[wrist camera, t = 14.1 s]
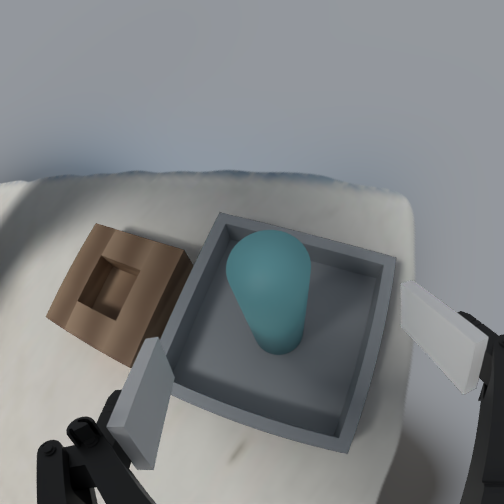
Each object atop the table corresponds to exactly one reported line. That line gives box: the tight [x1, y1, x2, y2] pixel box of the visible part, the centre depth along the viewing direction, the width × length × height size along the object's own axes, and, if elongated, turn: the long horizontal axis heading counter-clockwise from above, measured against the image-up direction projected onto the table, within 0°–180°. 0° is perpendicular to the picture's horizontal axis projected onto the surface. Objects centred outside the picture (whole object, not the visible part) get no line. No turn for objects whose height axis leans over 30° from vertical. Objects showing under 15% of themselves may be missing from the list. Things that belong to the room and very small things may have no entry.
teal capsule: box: [226, 230, 311, 355], centre depth 20 cm, size 4×4×12 cm
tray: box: [160, 212, 396, 454], centre depth 24 cm, size 16×16×4 cm
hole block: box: [46, 223, 193, 368], centre depth 27 cm, size 11×11×4 cm
